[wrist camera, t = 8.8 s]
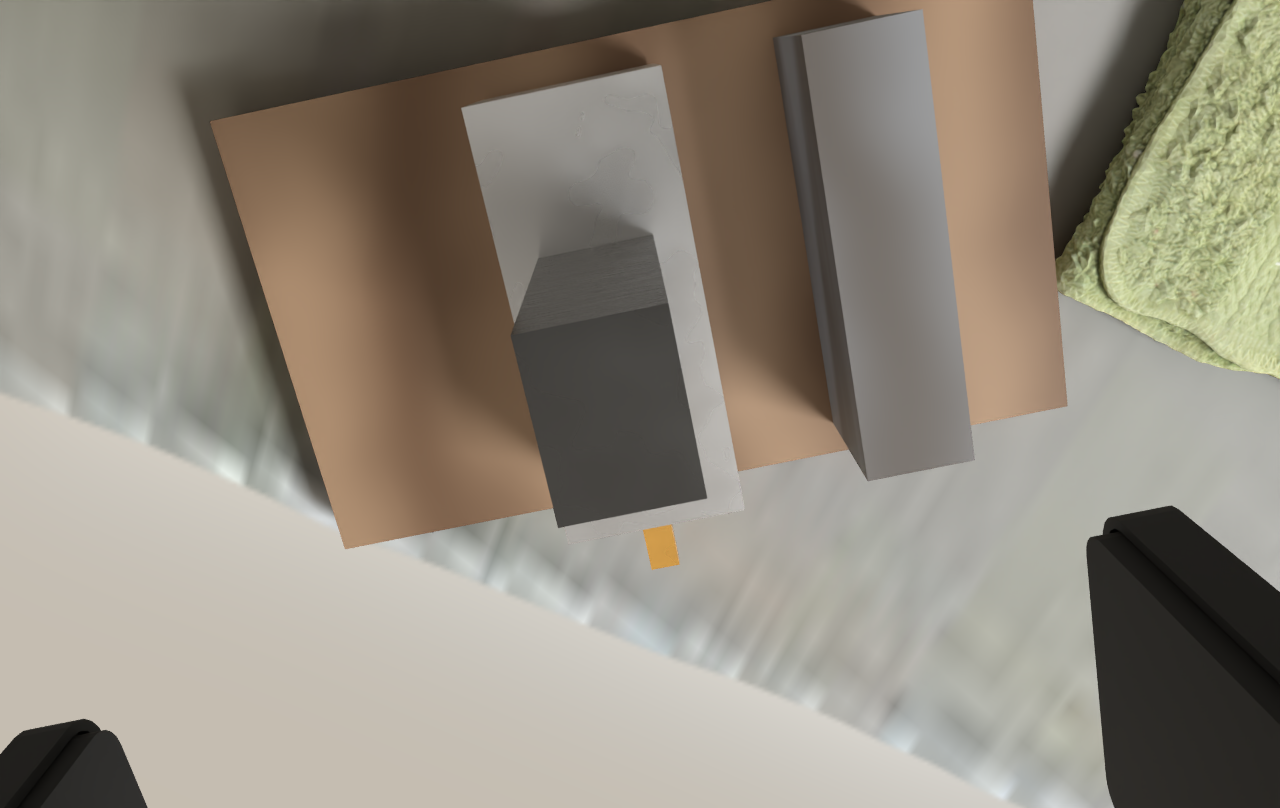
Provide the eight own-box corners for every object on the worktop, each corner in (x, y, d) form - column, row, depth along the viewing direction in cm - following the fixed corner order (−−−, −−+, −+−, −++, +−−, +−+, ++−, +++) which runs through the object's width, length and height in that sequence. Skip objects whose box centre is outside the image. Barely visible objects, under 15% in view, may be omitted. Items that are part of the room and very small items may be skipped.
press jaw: (653, 63, 31) (680, 70, 19) (734, 487, 35) (800, 721, 23) (483, 99, 31) (401, 129, 19) (583, 516, 36) (568, 764, 23)
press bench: (1003, -49, 33) (1103, -75, 26) (1044, 387, 37) (1138, 461, 30) (232, 117, 34) (138, 133, 27) (358, 524, 38) (304, 625, 31)
